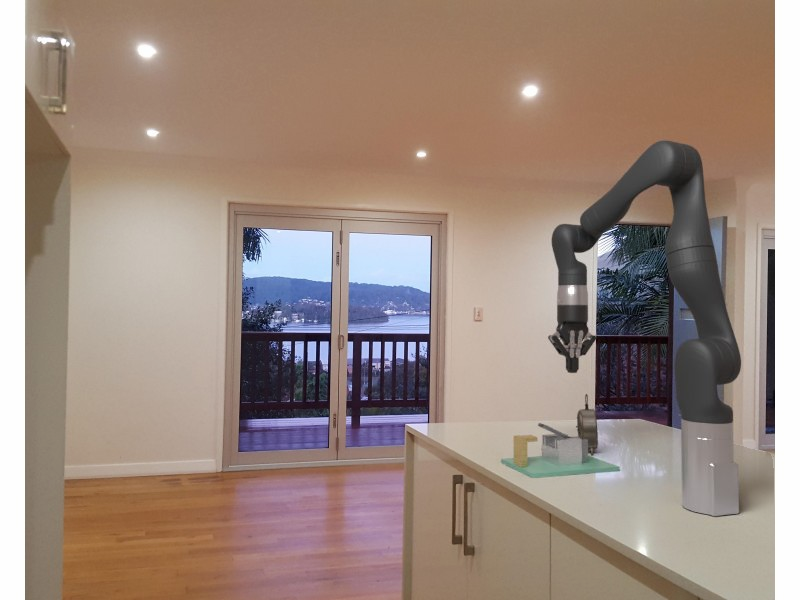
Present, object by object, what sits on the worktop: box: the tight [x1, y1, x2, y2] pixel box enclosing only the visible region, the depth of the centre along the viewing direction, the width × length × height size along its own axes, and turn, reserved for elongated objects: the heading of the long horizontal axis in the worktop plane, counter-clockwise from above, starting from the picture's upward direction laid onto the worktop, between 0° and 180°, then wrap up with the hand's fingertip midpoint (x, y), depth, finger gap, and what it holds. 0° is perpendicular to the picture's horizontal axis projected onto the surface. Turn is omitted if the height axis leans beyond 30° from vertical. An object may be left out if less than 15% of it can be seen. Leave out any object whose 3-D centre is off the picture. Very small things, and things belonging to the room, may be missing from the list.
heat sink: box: [541, 433, 589, 467], centre depth 157 cm, size 8×10×6 cm
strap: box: [537, 422, 573, 439], centre depth 156 cm, size 3×12×1 cm, turn 107°
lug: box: [513, 434, 538, 467], centre depth 153 cm, size 4×5×7 cm
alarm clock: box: [575, 393, 599, 456], centre depth 174 cm, size 11×5×16 cm, turn 168°
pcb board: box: [500, 455, 621, 479], centre depth 156 cm, size 16×24×1 cm, turn 108°
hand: (572, 372), depth 156 cm, fingers closed
